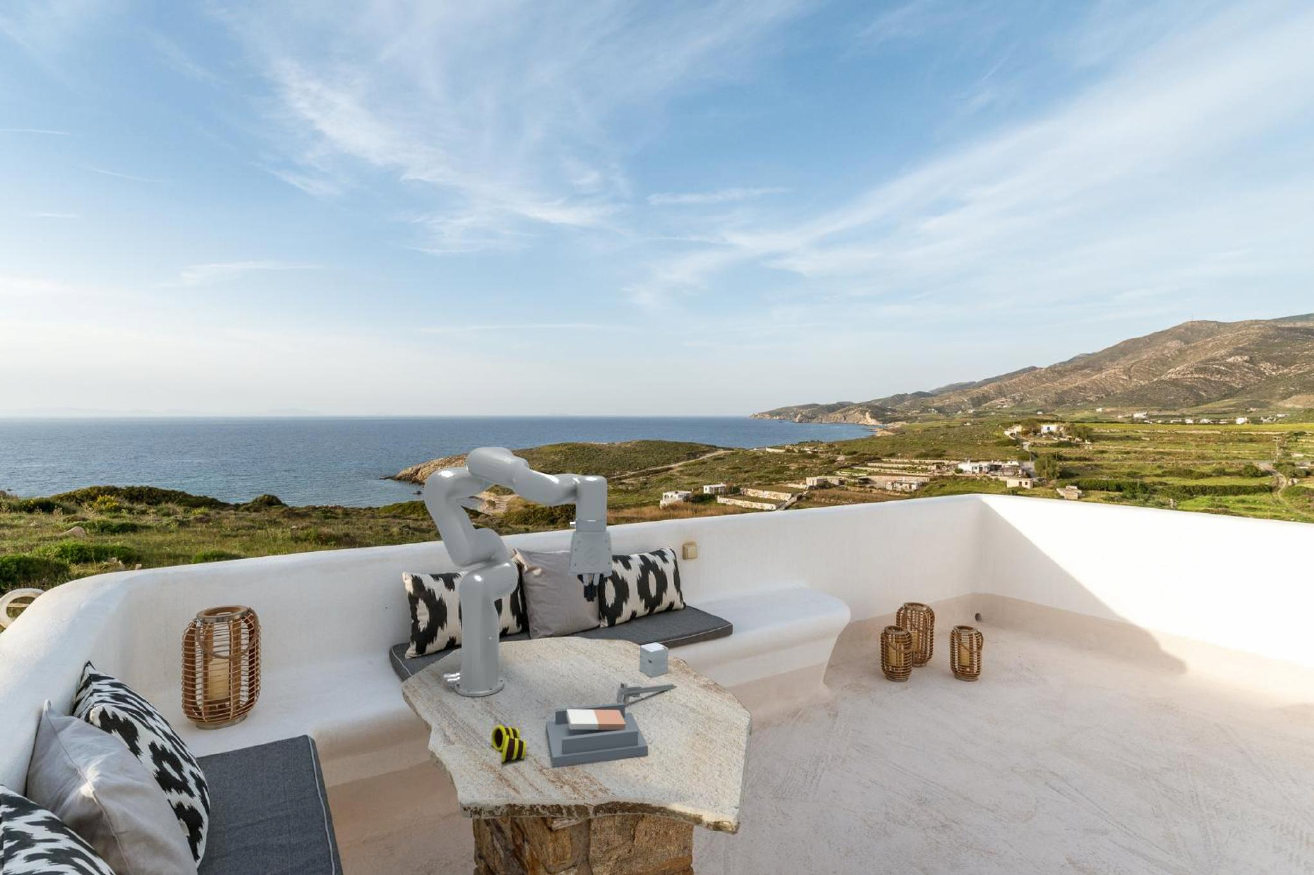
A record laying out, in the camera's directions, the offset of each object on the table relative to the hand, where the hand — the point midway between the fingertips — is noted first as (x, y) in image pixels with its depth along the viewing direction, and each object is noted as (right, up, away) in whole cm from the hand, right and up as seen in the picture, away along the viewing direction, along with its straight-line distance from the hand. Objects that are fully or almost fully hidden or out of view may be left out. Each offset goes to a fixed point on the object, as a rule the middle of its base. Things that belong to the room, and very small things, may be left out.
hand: (590, 600), depth 151 cm
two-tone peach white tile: (+3, -23, -16) cm, 28 cm away
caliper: (+14, -28, +8) cm, 32 cm away
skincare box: (+16, -28, +25) cm, 40 cm away
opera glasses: (-15, -27, -20) cm, 37 cm away
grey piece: (+3, -27, -16) cm, 31 cm away
